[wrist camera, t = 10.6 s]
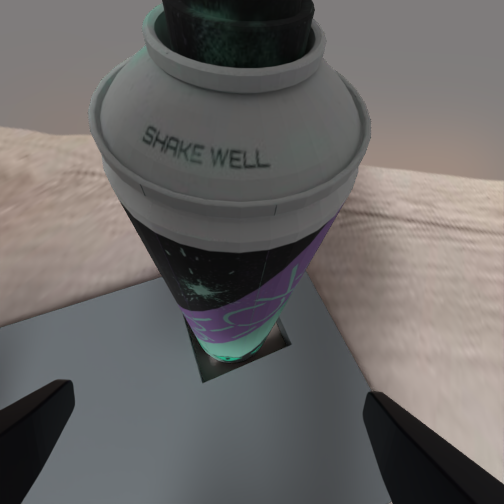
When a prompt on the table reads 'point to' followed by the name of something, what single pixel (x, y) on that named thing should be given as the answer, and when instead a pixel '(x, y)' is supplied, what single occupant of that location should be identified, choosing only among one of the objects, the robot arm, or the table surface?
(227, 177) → the spray can
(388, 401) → the robot arm
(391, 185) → the table surface
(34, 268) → the table surface
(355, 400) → the hole board
